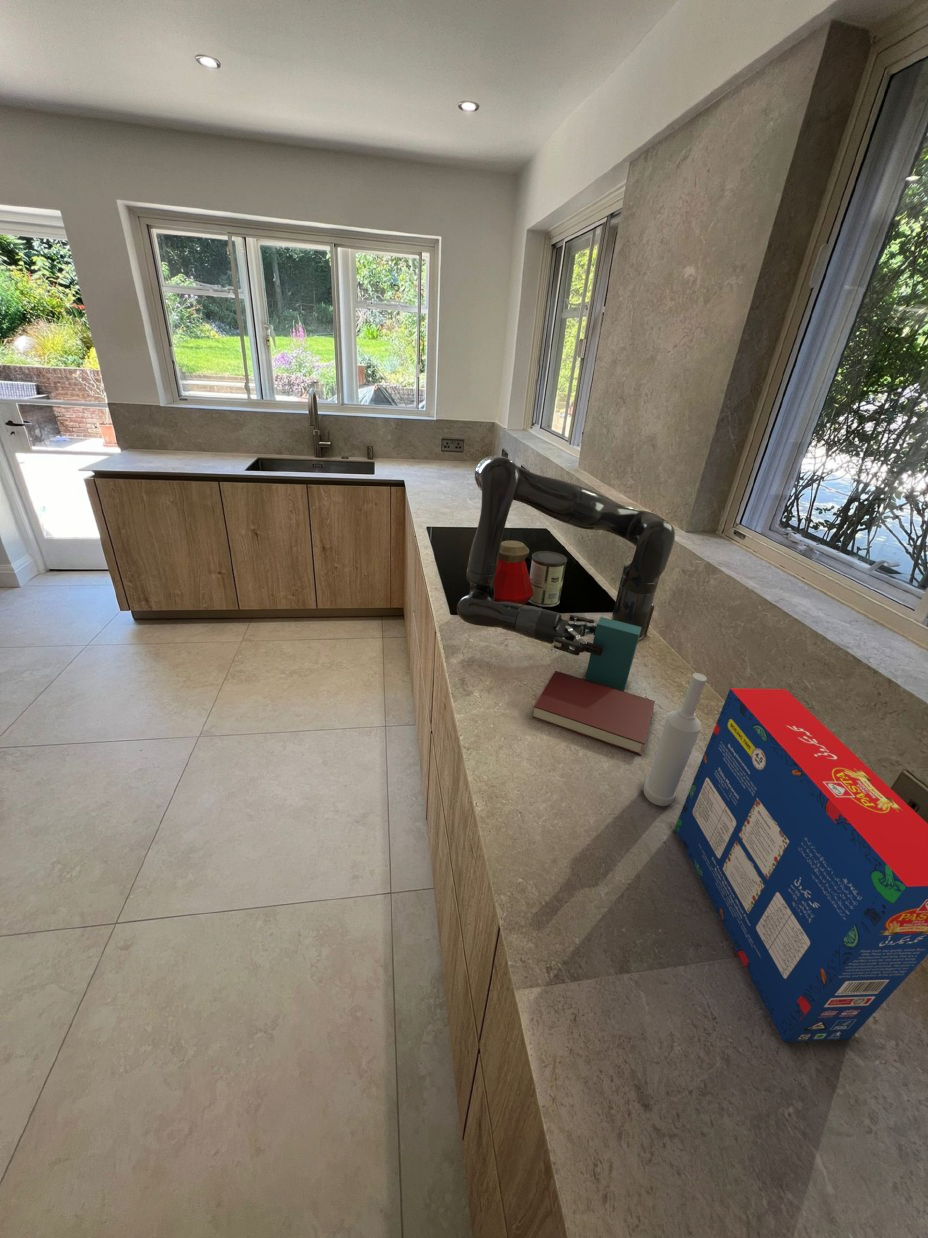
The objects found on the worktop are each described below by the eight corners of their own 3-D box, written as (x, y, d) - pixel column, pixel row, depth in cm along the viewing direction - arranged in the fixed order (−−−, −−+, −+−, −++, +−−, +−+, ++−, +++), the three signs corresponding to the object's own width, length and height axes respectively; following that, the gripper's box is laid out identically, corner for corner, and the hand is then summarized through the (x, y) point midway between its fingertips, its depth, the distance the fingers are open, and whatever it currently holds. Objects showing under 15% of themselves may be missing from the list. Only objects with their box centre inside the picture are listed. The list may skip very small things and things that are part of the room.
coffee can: (539, 589, 159) (545, 548, 152) (566, 600, 153) (573, 558, 146) (519, 598, 152) (525, 555, 145) (546, 610, 146) (554, 566, 139)
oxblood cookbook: (532, 717, 102) (534, 706, 100) (553, 681, 114) (555, 670, 113) (641, 755, 94) (645, 743, 93) (651, 712, 106) (655, 701, 105)
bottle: (673, 789, 87) (716, 671, 75) (674, 811, 83) (720, 690, 71) (642, 780, 88) (680, 664, 77) (642, 801, 84) (682, 682, 72)
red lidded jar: (522, 596, 153) (530, 534, 144) (538, 617, 142) (548, 551, 132) (473, 599, 149) (478, 535, 140) (485, 620, 138) (492, 552, 129)
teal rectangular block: (584, 679, 115) (597, 623, 108) (588, 671, 119) (600, 616, 111) (623, 691, 112) (638, 634, 105) (626, 683, 115) (641, 627, 108)
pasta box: (850, 1039, 56) (991, 884, 42) (783, 1042, 55) (906, 886, 42) (721, 828, 80) (785, 689, 67) (674, 829, 80) (730, 688, 66)
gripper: (530, 622, 110) (603, 642, 104) (549, 598, 121) (616, 615, 115) (526, 650, 113) (596, 671, 107) (545, 625, 125) (609, 643, 119)
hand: (606, 642), depth 111 cm, fingers open, 8 cm apart
